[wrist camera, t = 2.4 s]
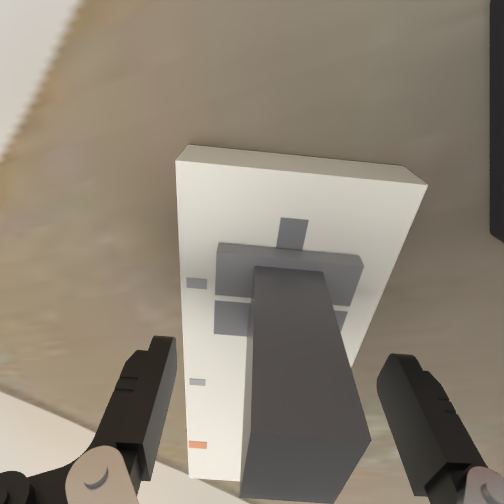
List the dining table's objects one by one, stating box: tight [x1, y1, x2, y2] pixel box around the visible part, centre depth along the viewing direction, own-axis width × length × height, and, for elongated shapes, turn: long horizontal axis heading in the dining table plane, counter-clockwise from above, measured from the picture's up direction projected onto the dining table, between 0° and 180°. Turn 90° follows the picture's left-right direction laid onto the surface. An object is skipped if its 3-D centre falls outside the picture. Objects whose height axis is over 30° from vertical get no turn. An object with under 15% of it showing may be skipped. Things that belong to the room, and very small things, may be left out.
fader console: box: [175, 144, 428, 481], centre depth 21 cm, size 10×28×2 cm, turn 175°
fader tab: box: [214, 243, 371, 504], centre depth 12 cm, size 6×5×8 cm
